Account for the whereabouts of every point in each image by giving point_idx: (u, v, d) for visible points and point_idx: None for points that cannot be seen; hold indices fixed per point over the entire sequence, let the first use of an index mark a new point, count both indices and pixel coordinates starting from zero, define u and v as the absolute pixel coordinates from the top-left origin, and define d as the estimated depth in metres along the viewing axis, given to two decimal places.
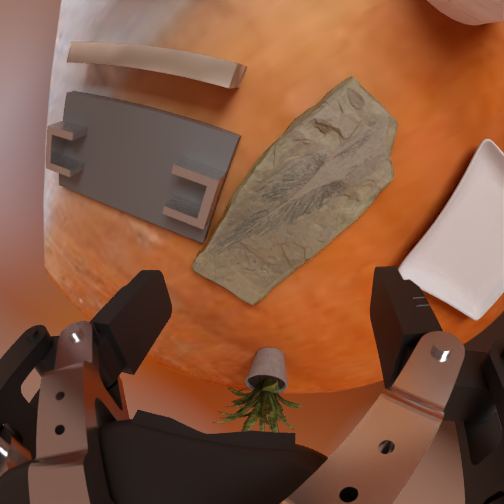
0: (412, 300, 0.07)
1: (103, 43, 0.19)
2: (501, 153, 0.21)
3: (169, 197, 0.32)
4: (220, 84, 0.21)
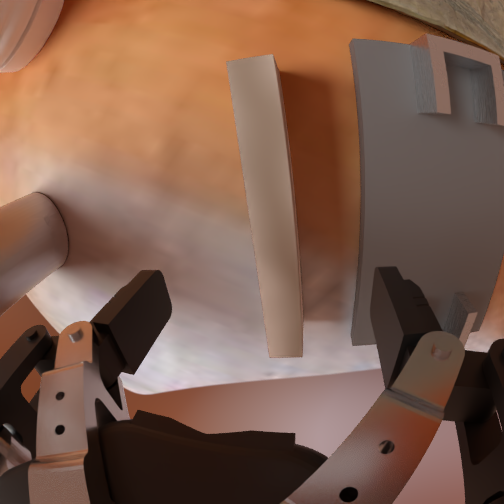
0: (412, 300, 0.07)
1: (263, 302, 0.18)
2: None
3: (479, 130, 0.14)
4: (272, 68, 0.12)
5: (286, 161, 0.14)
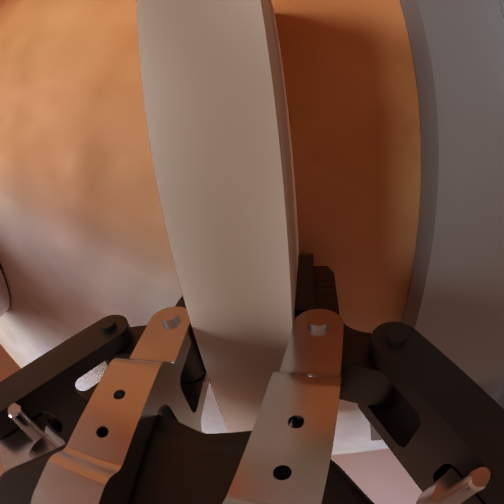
0: (312, 282, 0.08)
1: None
2: None
3: None
4: None
5: (281, 211, 0.05)
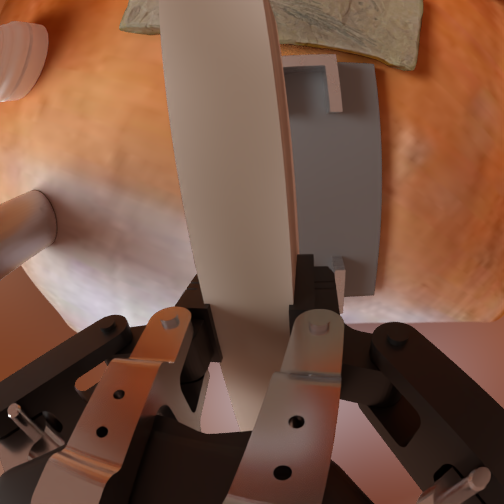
0: (312, 282, 0.08)
1: (237, 415, 0.10)
2: None
3: (332, 119, 0.22)
4: None
5: (282, 194, 0.06)
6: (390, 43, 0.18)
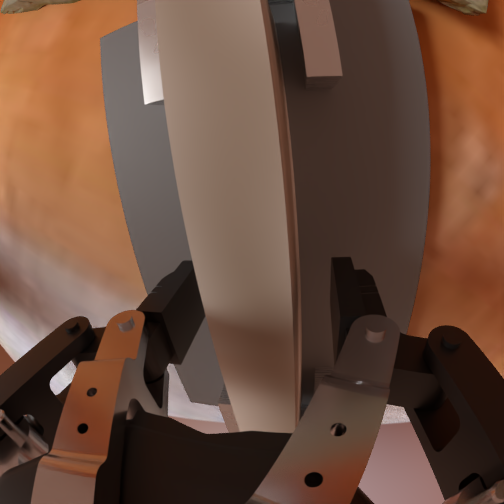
0: (357, 287, 0.08)
1: (237, 415, 0.10)
2: None
3: (321, 102, 0.09)
4: None
5: (281, 195, 0.06)
6: None
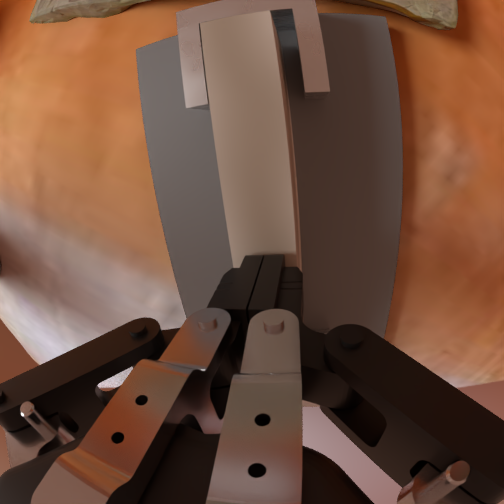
0: (276, 282, 0.09)
1: None
2: None
3: (316, 109, 0.12)
4: (268, 29, 0.07)
5: (288, 171, 0.09)
6: None
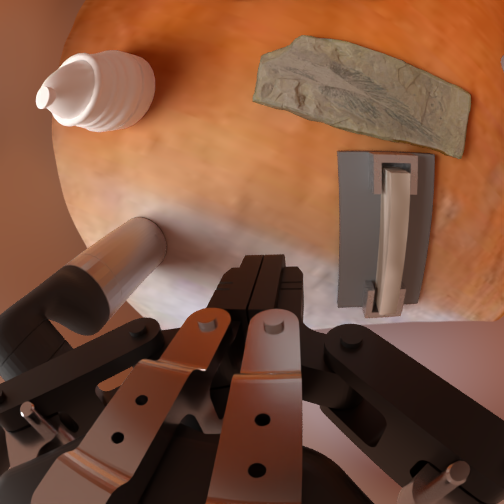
0: (276, 282, 0.09)
1: (385, 284, 0.35)
2: None
3: None
4: (409, 180, 0.29)
5: (407, 221, 0.31)
6: (448, 139, 0.29)
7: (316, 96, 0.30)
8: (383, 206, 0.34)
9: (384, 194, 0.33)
